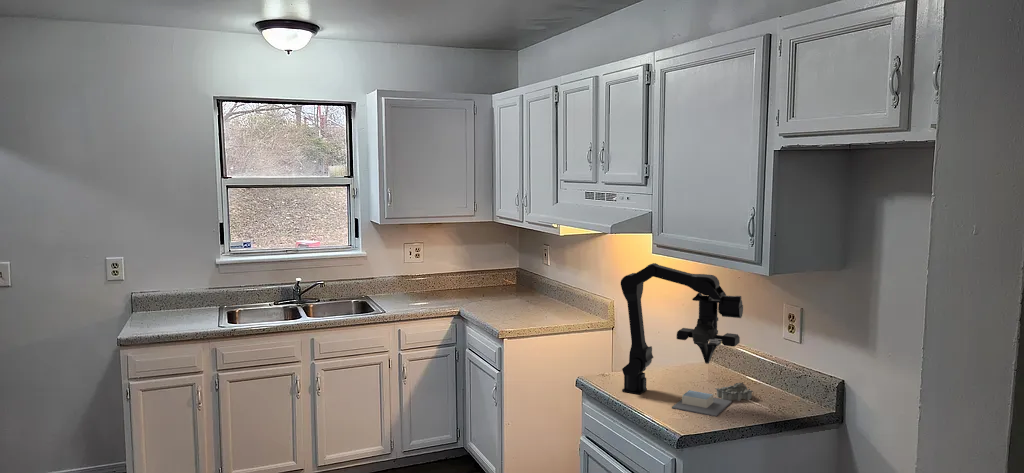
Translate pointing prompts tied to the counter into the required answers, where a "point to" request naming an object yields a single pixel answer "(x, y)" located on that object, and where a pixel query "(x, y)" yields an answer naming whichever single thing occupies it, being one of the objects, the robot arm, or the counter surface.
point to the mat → (712, 410)
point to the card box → (697, 399)
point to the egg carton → (734, 392)
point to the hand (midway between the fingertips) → (707, 363)
